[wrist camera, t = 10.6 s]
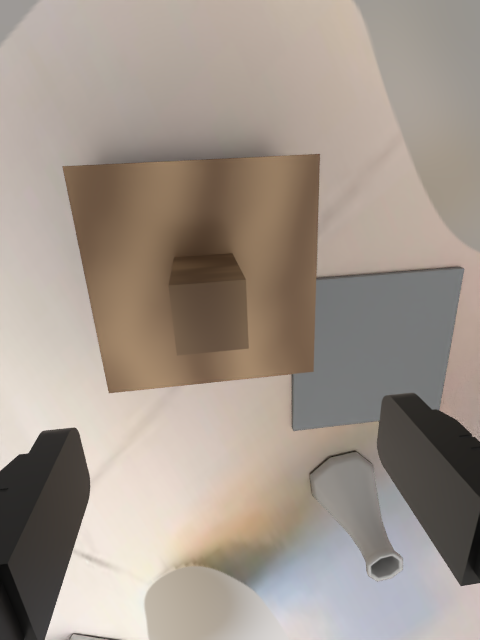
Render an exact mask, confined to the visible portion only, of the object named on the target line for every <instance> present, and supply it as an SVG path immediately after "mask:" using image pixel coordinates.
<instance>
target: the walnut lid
mask: <svg viewBox="0 0 480 640" xmlns="http://www.w3.org/2000/svg"><path fill="white" fill-rule="evenodd" d="M319 165H320V154H311V155H290V156H269V157H249V158H228V159H207V160H186V161H165V162H145V163H124V164H103V165H82V166H63V171H64V176H65V181H66V186H67V191H68V196H69V201H70V205H71V210H72V215H73V220H74V225H75V230H76V235H77V240H78V245H79V249H80V254H81V259H82V264H83V269H84V274H85V279H86V284H87V289H88V293H89V298H90V303H91V308H92V313H93V318H94V323H95V328H96V332H97V337H98V342H99V347H100V352H101V357H102V362H103V367H104V372H105V376H106V381H107V386H108V391H109V393H115V392H125V391H134V390H144V389H154V388H163V387H173V386H182V385H192V384H202V383H211V382H221V381H230V380H240V379H249V378H259V377H269V376H278V375H288V374H297V373H307V372H314V340H315V305H316V270H317V235H318V200H319Z"/></svg>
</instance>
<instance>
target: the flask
mask: <svg viewBox="0 0 480 640" xmlns="http://www.w3.org/2000/svg"><path fill="white" fill-rule="evenodd" d="M310 481H311V489H312V495H313V497H314V498H315V499H316V500H317V501H318V502H319V503H320V504H321V505H322V506H323V507H324V508H325V509H326V510H327V511H328V512H329V513H330V514H331V515H332V516H333V517H334V518H335V519H336V521H337V522H338V523H339V524H340V525H341V526H342V527H343V528H344V529H345V530H346V532H347V533H348V534H349V535H350V536H351V538H352V539H353V541H354V542H355V544H356V545H357V547H358V548H359V550H360V551H361V553H362V555H363V557H364V559H365V561H366V571H367V574H368V576H369V577H371V578H372V579H374V580H375V581H377V582H378V581H383V580H387V579H391V578H393V577H394V576H395V575H397V574H398V573H399V572H401V571H402V570H403V559H402V557H401V556H400V554H398V553H397V552H395V551H394V549H393V547H392V545H391V543H390V541H389V540H388V537H387V534H386V531H385V528H384V525H383V522H382V518H381V513H380V507H379V501H378V496H377V489H376V482H375V474H374V468H373V465H372V464H371V463H370V462H369V461H367V460H366V459H365V458H364V457H362V456H361V455H360V454H359V453H357V452H353V453H348V454H344V455H340V456H335V457H331V458H329V459H328V460H327V461H325V462H324V463H323V464H322V465H321V466H320V467H319V468H317V469H316V470H315V471H314V472H313V473H312V474H311V475H310Z"/></svg>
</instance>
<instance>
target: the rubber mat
mask: <svg viewBox="0 0 480 640" xmlns="http://www.w3.org/2000/svg"><path fill="white" fill-rule="evenodd" d="M463 273H464V268H461V267H452V268H439V269H427V270H414V271H402V272H389V273H377V274H364V275H352V276H339V277H327V278H316V305H315V340H314V372H307V373H297V374H292V429H293V431H298V430H306V429H314V428H323V427H331V426H340V425H348V424H356V423H365V422H373V421H379V420H380V411H381V403H382V399H383V397H384V396H386V395H395V394H404V393H415V394H417V395H418V396H419V397H420V398H421V399H422V400H423V401H424V402H425V403H426V404H427V405H428V406H429V407H430V408H431V409H432V410H434V409H437V410H439V409H440V403H441V398H442V392H443V386H444V381H445V375H446V369H447V364H448V358H449V352H450V347H451V341H452V335H453V330H454V324H455V318H456V313H457V307H458V301H459V295H460V290H461V284H462V278H463Z"/></svg>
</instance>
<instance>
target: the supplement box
mask: <svg viewBox="0 0 480 640" xmlns="http://www.w3.org/2000/svg"><path fill="white" fill-rule="evenodd" d="M70 640H108V639H101V638H95V637H88V636H82V635H77V634H73V635H72V636H71V638H70Z"/></svg>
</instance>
